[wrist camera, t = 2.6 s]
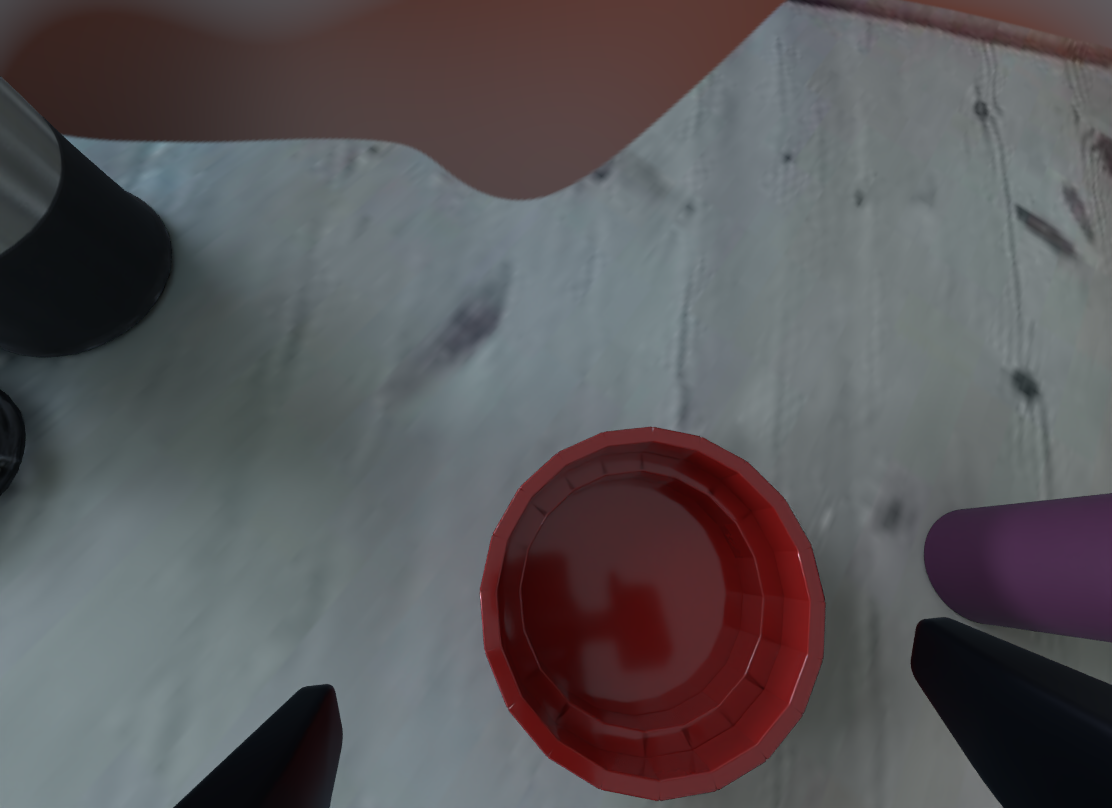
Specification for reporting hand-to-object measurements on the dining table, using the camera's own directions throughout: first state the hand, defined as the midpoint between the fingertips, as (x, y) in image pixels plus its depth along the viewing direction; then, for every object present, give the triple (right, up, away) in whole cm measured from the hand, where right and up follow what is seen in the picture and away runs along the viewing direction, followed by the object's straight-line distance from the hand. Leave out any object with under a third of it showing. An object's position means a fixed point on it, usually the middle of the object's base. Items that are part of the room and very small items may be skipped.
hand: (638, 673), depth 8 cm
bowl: (+2, -4, +15) cm, 15 cm away
